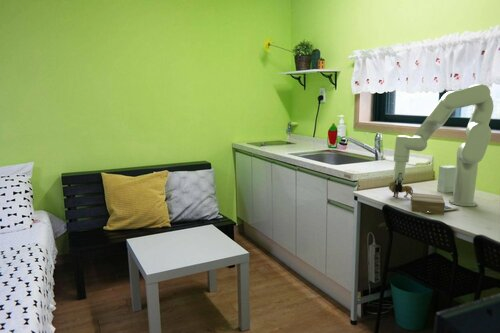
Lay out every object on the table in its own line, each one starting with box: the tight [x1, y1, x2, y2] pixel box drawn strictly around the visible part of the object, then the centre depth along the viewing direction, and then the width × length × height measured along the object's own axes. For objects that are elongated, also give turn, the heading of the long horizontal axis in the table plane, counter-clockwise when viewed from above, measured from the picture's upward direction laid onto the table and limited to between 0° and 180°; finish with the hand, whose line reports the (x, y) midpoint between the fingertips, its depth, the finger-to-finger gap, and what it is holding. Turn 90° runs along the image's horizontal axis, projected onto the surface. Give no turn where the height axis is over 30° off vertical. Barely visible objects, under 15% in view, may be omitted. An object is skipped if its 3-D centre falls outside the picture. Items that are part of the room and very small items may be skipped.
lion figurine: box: [388, 181, 414, 199], centre depth 209 cm, size 15×5×9 cm, turn 93°
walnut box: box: [410, 192, 446, 216], centre depth 190 cm, size 14×14×6 cm
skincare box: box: [436, 164, 456, 194], centre depth 221 cm, size 8×6×15 cm
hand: (397, 189), depth 209 cm, fingers open, 9 cm apart
